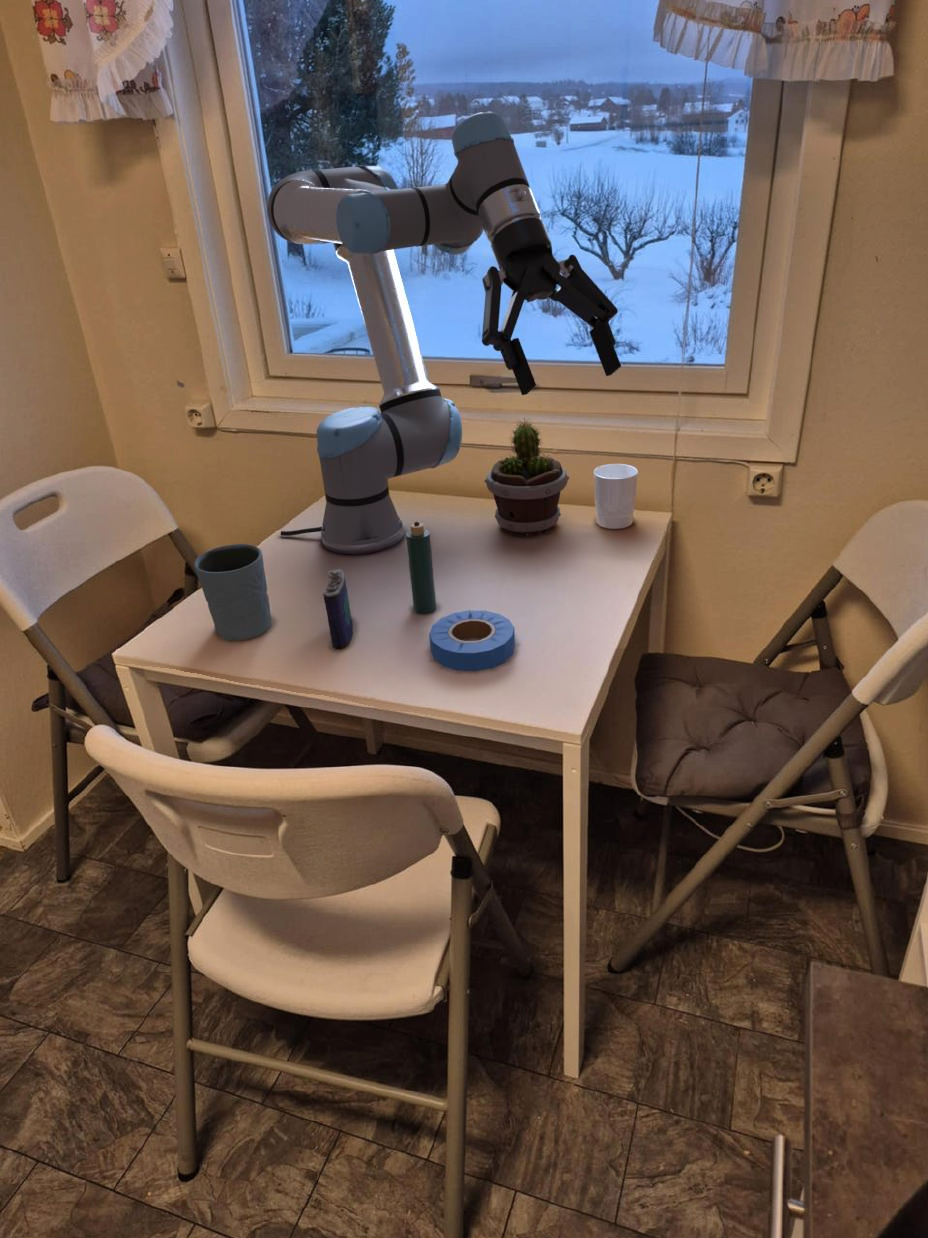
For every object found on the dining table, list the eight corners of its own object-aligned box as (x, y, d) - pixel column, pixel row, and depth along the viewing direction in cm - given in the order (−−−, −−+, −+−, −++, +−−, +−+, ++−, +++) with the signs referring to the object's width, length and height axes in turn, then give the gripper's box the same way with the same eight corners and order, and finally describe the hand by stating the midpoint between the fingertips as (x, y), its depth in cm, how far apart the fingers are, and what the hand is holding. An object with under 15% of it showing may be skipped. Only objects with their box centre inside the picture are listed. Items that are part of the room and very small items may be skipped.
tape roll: (415, 658, 122) (413, 641, 121) (459, 620, 131) (458, 603, 130) (488, 679, 117) (487, 661, 115) (528, 638, 125) (528, 620, 124)
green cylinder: (409, 611, 135) (399, 524, 127) (422, 601, 137) (413, 515, 130) (428, 616, 133) (419, 528, 126) (440, 605, 136) (433, 519, 128)
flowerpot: (566, 543, 153) (565, 434, 143) (481, 541, 156) (475, 434, 146) (571, 511, 165) (571, 409, 155) (493, 510, 168) (488, 410, 158)
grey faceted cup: (635, 531, 156) (637, 479, 151) (591, 530, 157) (592, 478, 152) (636, 514, 162) (638, 463, 157) (594, 513, 164) (595, 463, 159)
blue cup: (245, 648, 128) (229, 577, 122) (196, 635, 132) (178, 565, 126) (289, 617, 135) (276, 549, 129) (241, 605, 140) (226, 538, 134)
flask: (337, 619, 134) (327, 557, 129) (355, 618, 134) (347, 556, 129) (330, 650, 126) (320, 586, 121) (350, 649, 126) (340, 585, 120)
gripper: (443, 224, 104) (503, 385, 103) (606, 204, 114) (662, 350, 113) (423, 259, 111) (479, 410, 110) (578, 237, 121) (631, 376, 120)
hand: (572, 380), depth 112 cm, fingers open, 13 cm apart
